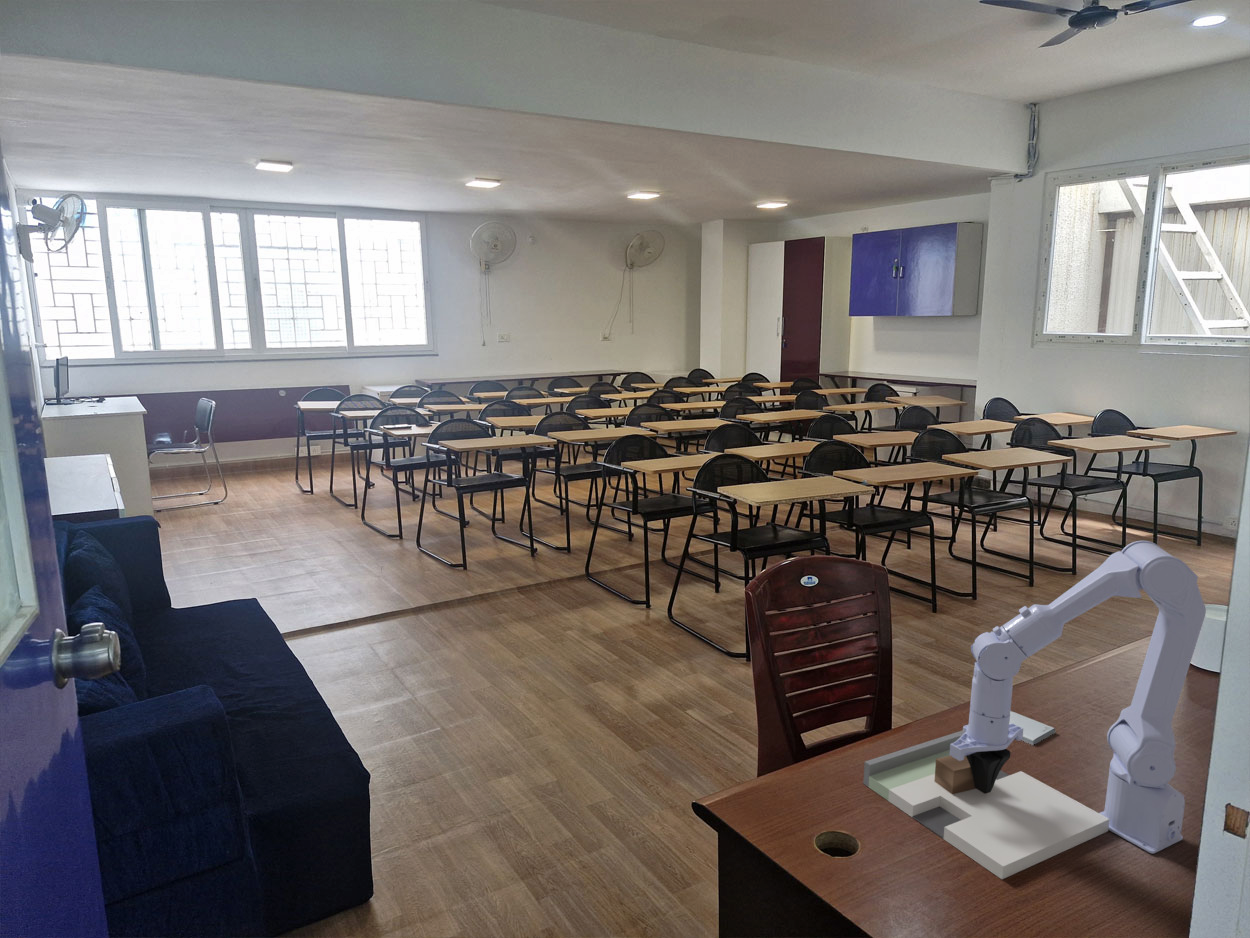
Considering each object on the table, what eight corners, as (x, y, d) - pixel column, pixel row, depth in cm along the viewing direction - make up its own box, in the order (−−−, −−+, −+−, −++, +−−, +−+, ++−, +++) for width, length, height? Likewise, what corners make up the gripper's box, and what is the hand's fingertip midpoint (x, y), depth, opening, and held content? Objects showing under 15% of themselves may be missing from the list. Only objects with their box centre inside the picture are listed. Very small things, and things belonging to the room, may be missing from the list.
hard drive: (1056, 727, 151) (993, 702, 161) (1033, 740, 146) (970, 713, 156) (1055, 735, 151) (992, 710, 161) (1032, 748, 147) (969, 721, 157)
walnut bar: (991, 784, 130) (993, 761, 129) (952, 794, 127) (953, 770, 126) (973, 772, 134) (974, 750, 133) (934, 781, 131) (935, 758, 130)
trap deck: (1108, 831, 121) (1111, 807, 121) (1001, 879, 110) (1004, 853, 110) (962, 750, 145) (964, 729, 144) (863, 783, 134) (864, 761, 133)
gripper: (998, 690, 131) (991, 766, 134) (936, 708, 125) (930, 788, 127) (1038, 708, 125) (1030, 787, 127) (974, 728, 118) (967, 812, 121)
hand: (982, 789), depth 127 cm, fingers closed
